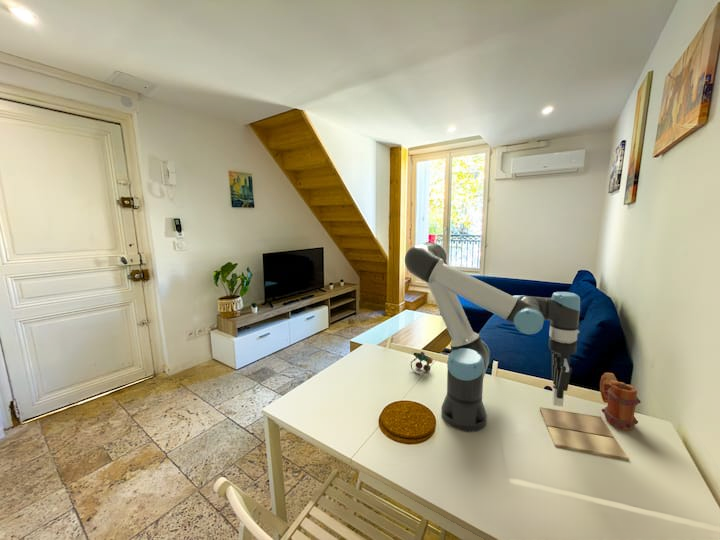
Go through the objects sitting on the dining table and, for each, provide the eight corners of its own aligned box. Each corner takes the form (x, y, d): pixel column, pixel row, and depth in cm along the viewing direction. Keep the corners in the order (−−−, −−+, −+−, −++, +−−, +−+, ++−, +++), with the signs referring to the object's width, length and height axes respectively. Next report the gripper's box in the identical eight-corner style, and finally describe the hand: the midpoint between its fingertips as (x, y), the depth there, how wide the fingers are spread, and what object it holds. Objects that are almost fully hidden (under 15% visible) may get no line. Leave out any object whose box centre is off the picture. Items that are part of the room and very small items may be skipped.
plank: (546, 429, 96) (547, 425, 96) (539, 410, 104) (540, 407, 104) (613, 441, 90) (613, 436, 90) (600, 420, 99) (600, 416, 98)
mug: (643, 436, 92) (649, 393, 89) (613, 433, 94) (619, 390, 91) (613, 408, 106) (618, 369, 104) (587, 405, 108) (592, 368, 105)
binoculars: (430, 378, 133) (436, 357, 135) (422, 375, 126) (428, 352, 129) (412, 372, 139) (418, 351, 142) (404, 368, 132) (410, 347, 135)
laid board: (554, 448, 88) (554, 443, 88) (546, 430, 96) (547, 425, 95) (628, 463, 82) (628, 458, 82) (613, 442, 90) (614, 437, 90)
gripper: (584, 348, 88) (577, 418, 92) (569, 333, 100) (564, 395, 104) (555, 345, 91) (550, 414, 94) (544, 331, 103) (540, 392, 106)
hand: (557, 404), depth 99 cm, fingers closed
